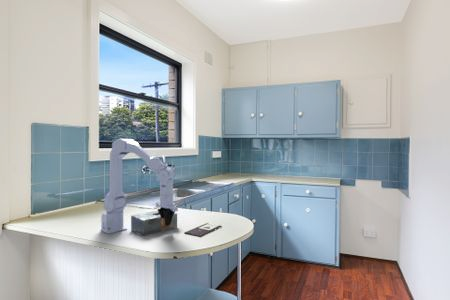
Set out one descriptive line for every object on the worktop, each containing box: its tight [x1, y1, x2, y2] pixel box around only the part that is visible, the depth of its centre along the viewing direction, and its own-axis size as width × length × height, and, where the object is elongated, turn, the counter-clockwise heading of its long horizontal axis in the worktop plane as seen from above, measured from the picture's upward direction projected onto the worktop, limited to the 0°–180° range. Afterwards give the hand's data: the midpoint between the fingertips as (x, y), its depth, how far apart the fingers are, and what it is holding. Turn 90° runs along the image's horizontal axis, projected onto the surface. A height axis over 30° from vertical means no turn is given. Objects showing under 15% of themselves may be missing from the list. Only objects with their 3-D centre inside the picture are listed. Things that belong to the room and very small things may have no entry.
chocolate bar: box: [184, 222, 222, 238], centre depth 134 cm, size 9×1×18 cm
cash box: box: [130, 210, 178, 237], centre depth 136 cm, size 18×12×7 cm, turn 135°
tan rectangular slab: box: [161, 217, 173, 231], centre depth 127 cm, size 5×2×5 cm, turn 135°
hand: (166, 224), depth 127 cm, fingers closed on tan rectangular slab, 2 cm apart
